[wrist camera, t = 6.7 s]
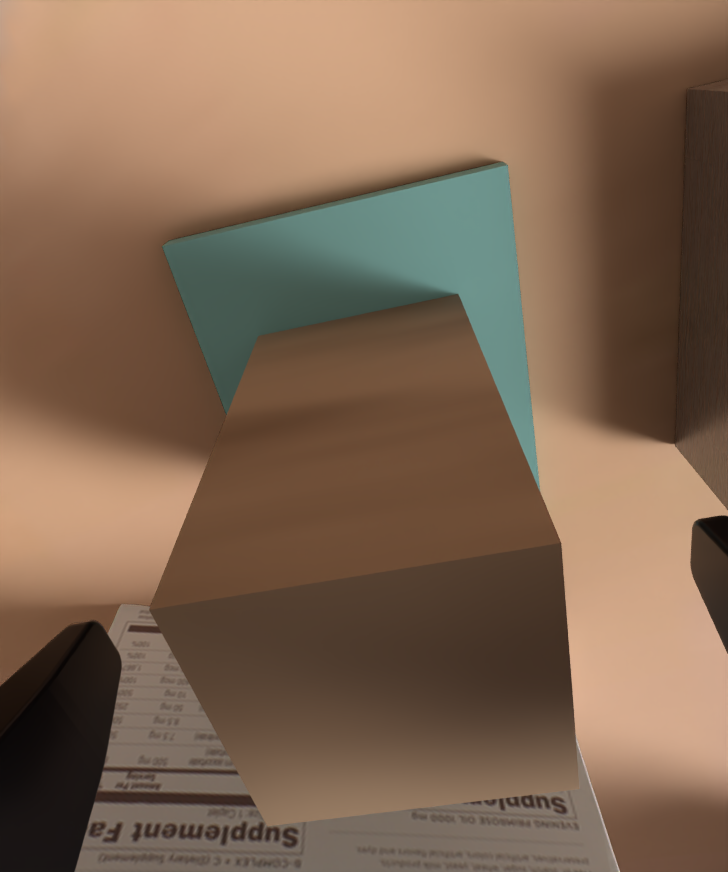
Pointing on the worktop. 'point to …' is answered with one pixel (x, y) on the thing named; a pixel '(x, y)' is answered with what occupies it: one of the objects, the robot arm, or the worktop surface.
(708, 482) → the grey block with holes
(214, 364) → the mat
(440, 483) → the peg
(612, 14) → the worktop surface
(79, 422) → the worktop surface
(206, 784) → the supplement box
